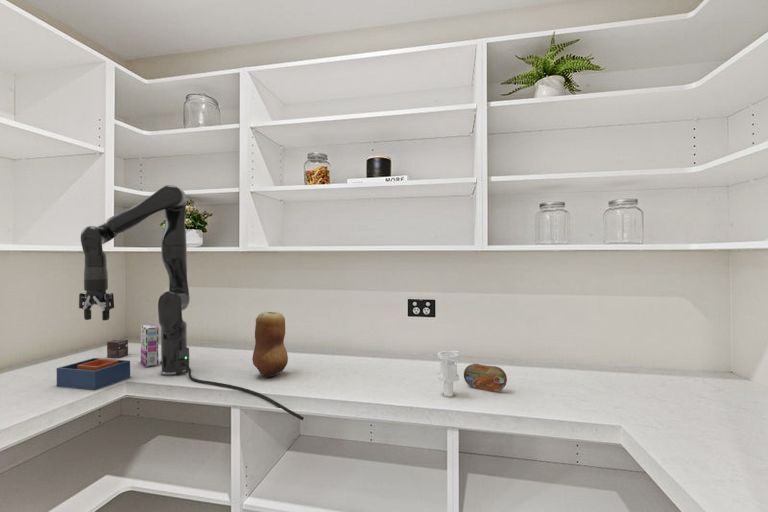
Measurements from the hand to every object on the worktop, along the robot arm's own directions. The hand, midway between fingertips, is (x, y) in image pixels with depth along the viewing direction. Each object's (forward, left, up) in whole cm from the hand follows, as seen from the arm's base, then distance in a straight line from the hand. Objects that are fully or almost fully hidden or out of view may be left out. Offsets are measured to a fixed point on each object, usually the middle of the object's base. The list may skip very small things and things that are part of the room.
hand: (96, 319), depth 156 cm
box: (+21, -28, -23) cm, 42 cm away
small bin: (-5, +4, -22) cm, 23 cm away
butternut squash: (-64, -18, -23) cm, 70 cm away
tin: (-146, -22, -23) cm, 149 cm away
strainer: (-134, -13, -23) cm, 137 cm away
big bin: (-3, +4, -23) cm, 23 cm away
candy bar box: (-4, -21, -23) cm, 31 cm away
